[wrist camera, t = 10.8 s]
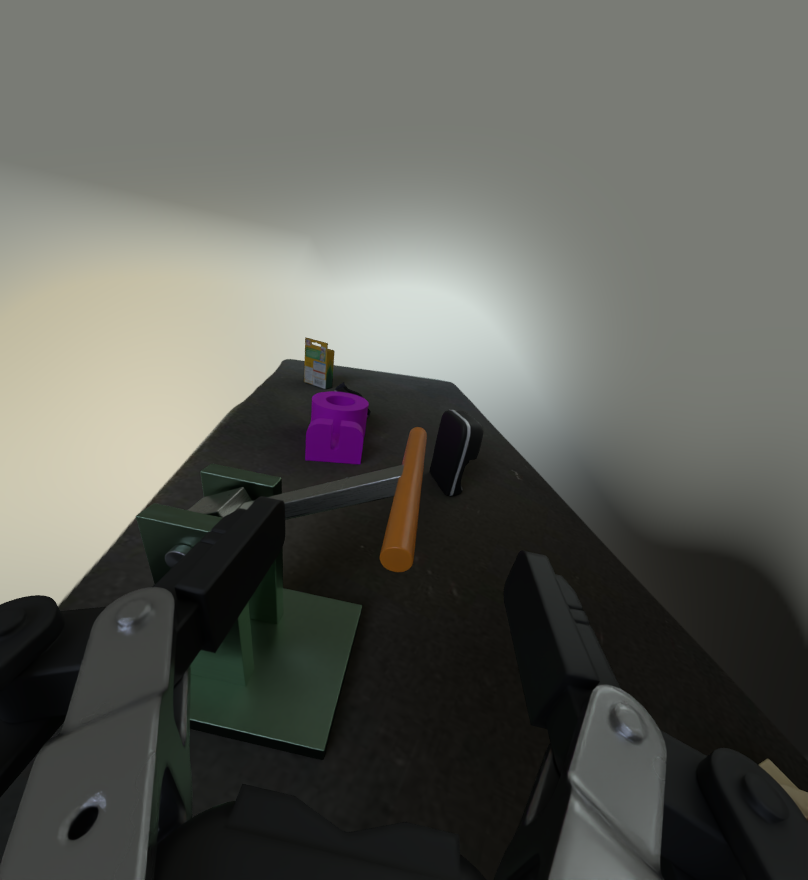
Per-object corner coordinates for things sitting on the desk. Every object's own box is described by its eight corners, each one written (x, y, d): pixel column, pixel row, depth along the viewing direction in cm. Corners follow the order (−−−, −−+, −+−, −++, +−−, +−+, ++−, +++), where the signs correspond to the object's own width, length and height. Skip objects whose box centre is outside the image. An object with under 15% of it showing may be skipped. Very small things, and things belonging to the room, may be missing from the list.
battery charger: (468, 496, 44) (491, 426, 39) (446, 498, 43) (466, 425, 38) (448, 471, 50) (465, 406, 45) (427, 471, 48) (443, 405, 44)
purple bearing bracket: (314, 419, 60) (316, 389, 57) (364, 424, 61) (367, 395, 59) (300, 459, 45) (300, 421, 43) (365, 464, 47) (369, 428, 45)
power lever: (431, 449, 19) (420, 415, 18) (423, 585, 10) (399, 528, 9) (260, 491, 22) (244, 464, 21) (132, 625, 13) (93, 586, 12)
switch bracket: (360, 614, 25) (382, 479, 20) (323, 760, 17) (340, 604, 11) (181, 574, 26) (149, 431, 20) (62, 698, 18) (-50, 518, 12)
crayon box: (332, 387, 80) (335, 342, 75) (325, 389, 77) (327, 343, 72) (311, 380, 82) (313, 336, 77) (303, 382, 80) (304, 337, 75)
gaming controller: (350, 409, 73) (330, 388, 70) (364, 397, 73) (344, 376, 69) (357, 427, 64) (335, 405, 61) (373, 414, 64) (352, 391, 60)
